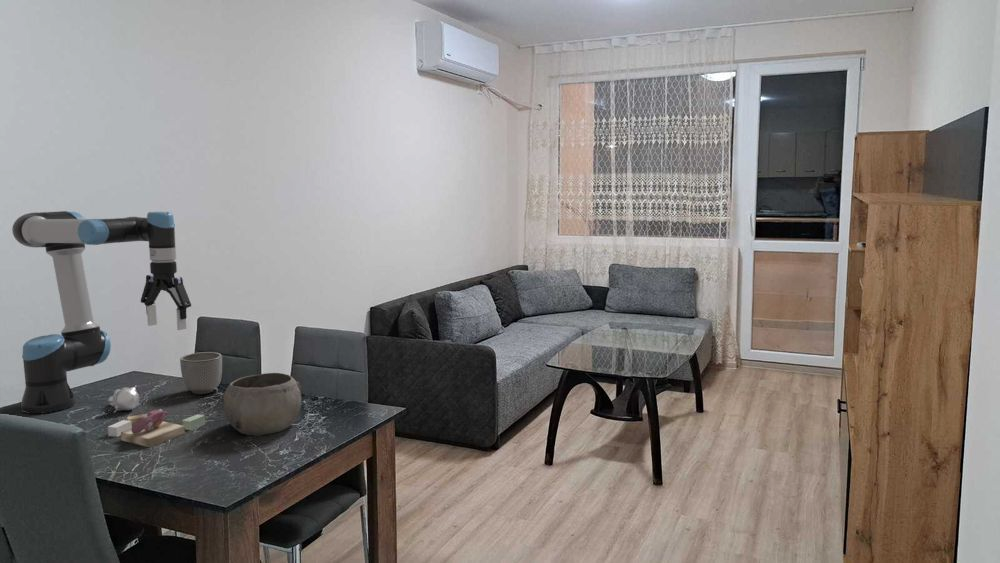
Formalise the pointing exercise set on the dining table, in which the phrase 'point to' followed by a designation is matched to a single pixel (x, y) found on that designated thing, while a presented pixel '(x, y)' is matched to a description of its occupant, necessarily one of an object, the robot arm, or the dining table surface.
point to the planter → (201, 371)
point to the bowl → (262, 403)
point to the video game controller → (150, 421)
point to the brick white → (119, 428)
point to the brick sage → (194, 422)
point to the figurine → (124, 399)
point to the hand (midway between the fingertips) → (167, 327)
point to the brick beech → (135, 419)
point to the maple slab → (154, 434)
